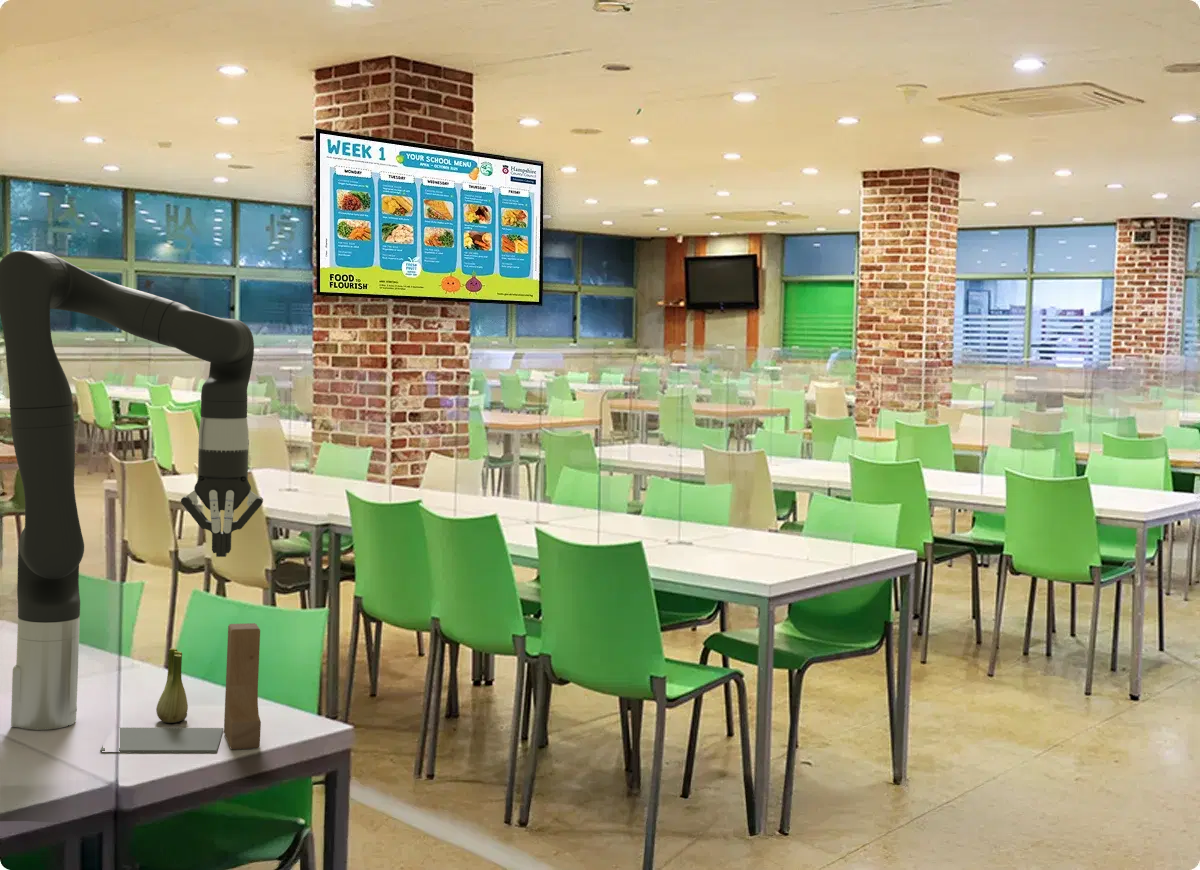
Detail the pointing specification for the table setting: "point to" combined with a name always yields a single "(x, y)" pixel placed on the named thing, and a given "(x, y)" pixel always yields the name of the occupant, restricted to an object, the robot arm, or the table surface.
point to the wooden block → (242, 687)
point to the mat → (169, 740)
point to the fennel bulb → (173, 692)
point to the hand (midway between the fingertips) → (221, 555)
